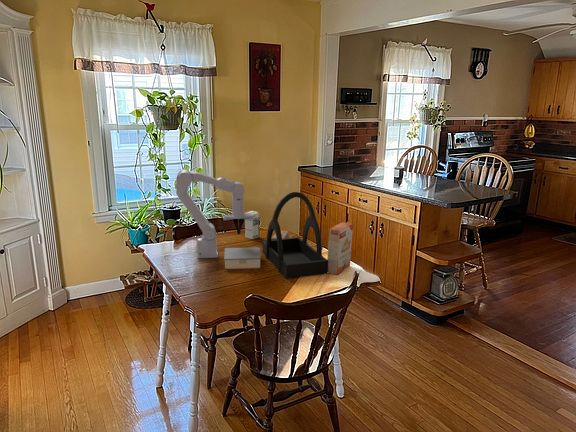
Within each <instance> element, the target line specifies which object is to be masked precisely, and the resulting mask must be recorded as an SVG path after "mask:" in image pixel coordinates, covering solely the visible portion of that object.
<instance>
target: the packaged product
mask: <svg viewBox="0 0 576 432" xmlns="http://www.w3.org/2000/svg"><path fill="white" fill-rule="evenodd" d="M280 230H281V235H282V239H286V238H293V237H292V236H290V234H289V231H288V230H284V229H283V230H282V229H280ZM276 239H277V238H276V233H275V232H274V234H272V238H271V240H276Z"/></svg>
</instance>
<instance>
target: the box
mask: <svg viewBox="0 0 576 432" xmlns="http://www.w3.org/2000/svg"><path fill="white" fill-rule="evenodd" d="M260 268H261V259H250V260H224V269H227V270H230V269H231V270H232V269H233V270H234V269H260Z"/></svg>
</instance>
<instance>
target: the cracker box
mask: <svg viewBox="0 0 576 432" xmlns="http://www.w3.org/2000/svg"><path fill="white" fill-rule="evenodd" d="M353 229H354V223H349V222H344V221H342V222H340V223H338V224H336V225H333V226H332V227H330V228H329V229H328V243H327V244H328V245H327V258H326V259H327V260H328V274H332V275H335V276H338V275H339V274H341V273H342V272H343V271H345V270H346V269H348V268H349V267H350V266H351V258H352V247H353V244H352V243H353V242H352V241H353V232H354V230H353Z"/></svg>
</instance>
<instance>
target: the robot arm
mask: <svg viewBox="0 0 576 432" xmlns="http://www.w3.org/2000/svg"><path fill="white" fill-rule="evenodd" d="M175 179H176V180H175V181H176V185H175V186H176V188H175V189H176V192H175V193H176V196H177V197H178V198H179V200H180V201H181V202H182V203H181V204H183V206H184V207H185V209H186V210H187V211H188V212H189V214H190V215H191V217H192V218H193V219H194V221H195V223H197V225H198V227H199V229H200V230H201V232H202V236H201V237H200V238H199V237H198V238H197V240H196V241H197V242H196V246H197V247H196V248H197V249H196V253H197V259H211V258H212V259H217V258H218V255H219V254H218V253H219V251H217V250H218V247H217V246H218V245H217V243H218V242H217V231H216V228H215V225H214V224H213V223H211V222H210V221H209V220H208V218H206V216H205V215H204V214H203V212H202V211H201V210H200V208H199V207H198V206H197V205H198V204H196V202H195V200H193V198H192V196H190V194H189V193H188V190H189V187H190V185H191V184H192V183H193V184H195V183H198V182H202V183H205V184H207V185H212V186H215V187H216V188H215V189H218V190H220V191H223V192H226V193H227V192H228V193H231V195H232V196H231V209H232V211H231V213H232V214H228V215H226V214H225V215H223V216H222V217H223V221H231V220H232V223H233V224H234V227H235V228H236V233H237V235H241V231H242V228H243V225H244V224H245V219H253V215H247V214H245V198H244V194H245V190H246V189H245V187H244V185H243V184H242V183H241V182H239V181H238V180H237V181H236V180H234V179H233V180H231V179H227V178H226V177H225V176H223V177H222V176H221V177H218V178H215V177H212V176H210V175H207V174H204V173H200V172H198V171H196V170H195V171H194V170H189V169H187V168H185V169H184V168H183V169H180V170H179V171H178V173H177V176H176V178H175Z"/></svg>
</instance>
